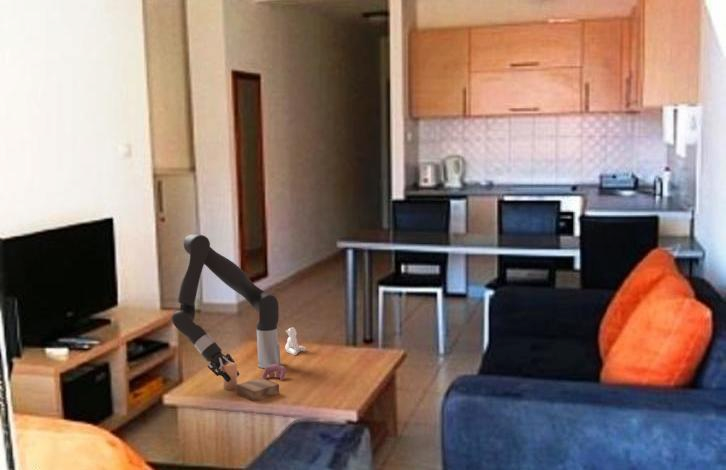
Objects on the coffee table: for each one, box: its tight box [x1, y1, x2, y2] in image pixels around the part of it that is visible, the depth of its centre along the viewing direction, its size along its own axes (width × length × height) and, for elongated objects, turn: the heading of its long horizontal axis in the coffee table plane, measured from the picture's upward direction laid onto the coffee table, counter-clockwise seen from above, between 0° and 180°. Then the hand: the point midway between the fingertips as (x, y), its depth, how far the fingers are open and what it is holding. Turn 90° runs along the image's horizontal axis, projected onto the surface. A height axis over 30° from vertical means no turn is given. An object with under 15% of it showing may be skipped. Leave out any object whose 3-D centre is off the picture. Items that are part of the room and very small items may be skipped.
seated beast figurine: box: [284, 327, 306, 356], centre depth 359 cm, size 10×9×12 cm
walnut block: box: [236, 377, 280, 402], centre depth 302 cm, size 12×12×4 cm
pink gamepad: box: [261, 364, 287, 382], centre depth 322 cm, size 10×5×7 cm, turn 72°
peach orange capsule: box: [222, 361, 238, 391], centre depth 310 cm, size 6×6×10 cm
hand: (233, 378), depth 310 cm, fingers closed on peach orange capsule, 5 cm apart
